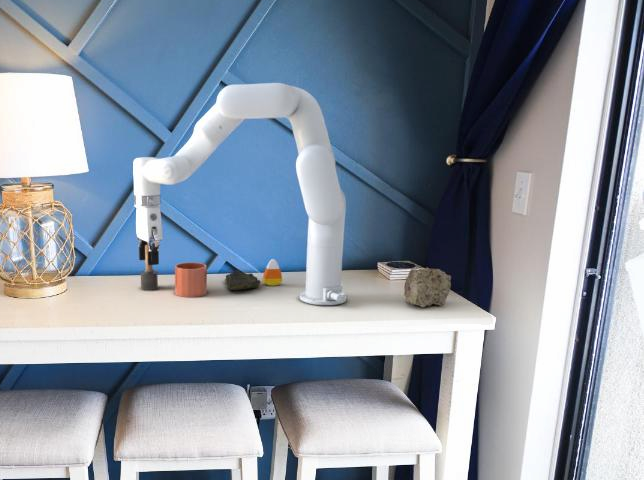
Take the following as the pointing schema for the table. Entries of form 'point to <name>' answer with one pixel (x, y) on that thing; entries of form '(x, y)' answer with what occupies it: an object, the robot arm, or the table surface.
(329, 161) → the robot arm
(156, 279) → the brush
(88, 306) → the table surface
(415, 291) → the rock
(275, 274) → the candy corn
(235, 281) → the stone
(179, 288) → the tumbler
